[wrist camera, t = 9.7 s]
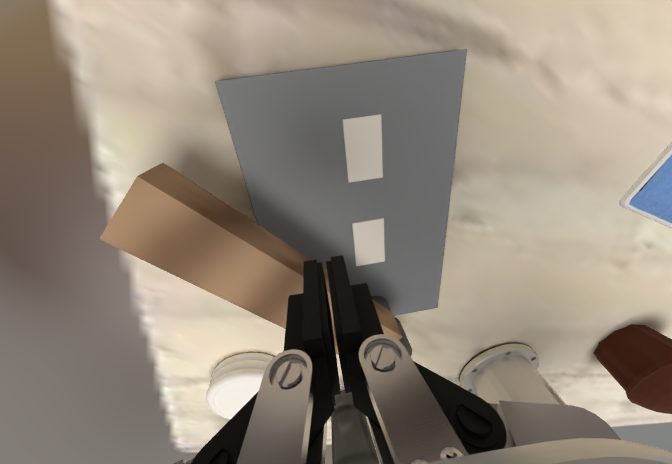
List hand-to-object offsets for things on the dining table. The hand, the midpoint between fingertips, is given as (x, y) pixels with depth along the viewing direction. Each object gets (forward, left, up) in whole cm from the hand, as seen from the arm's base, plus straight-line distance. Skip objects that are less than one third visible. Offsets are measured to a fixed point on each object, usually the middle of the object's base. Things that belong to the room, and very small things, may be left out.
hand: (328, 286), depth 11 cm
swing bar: (-7, +3, -9) cm, 12 cm away
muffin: (-35, -47, -14) cm, 60 cm away
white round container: (-25, +12, -14) cm, 32 cm away
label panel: (-4, -4, -14) cm, 15 cm away
